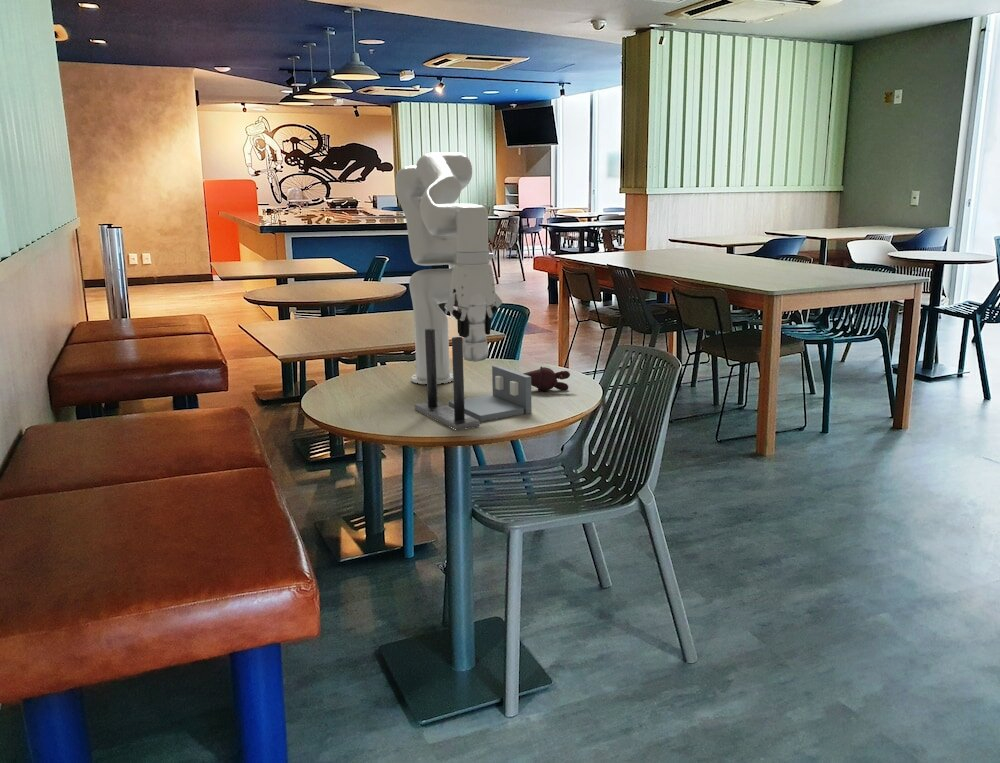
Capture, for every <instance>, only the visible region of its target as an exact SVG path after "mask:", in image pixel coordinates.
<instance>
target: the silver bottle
mask: <svg viewBox="0 0 1000 763" xmlns="http://www.w3.org/2000/svg"><path fill="white" fill-rule="evenodd" d="M486 305H487V299H486V297H485V296H484V295H483V294H481V293H477V294H475V295H473V296H472V297H471V298H470V301H469V305H468V306H469V307H468V308H466V311H467V313H466V317H465V321H467V335H468V336H467V337H466V338H464V337H462V340H463V360H465V361H469V362H473V363H474V362H476V363H477V362H482V361H485V360H486V359H487V358H488V355H489V346H488V340H487V335H486V330H485V322H486V309H487V306H486Z"/></svg>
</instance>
